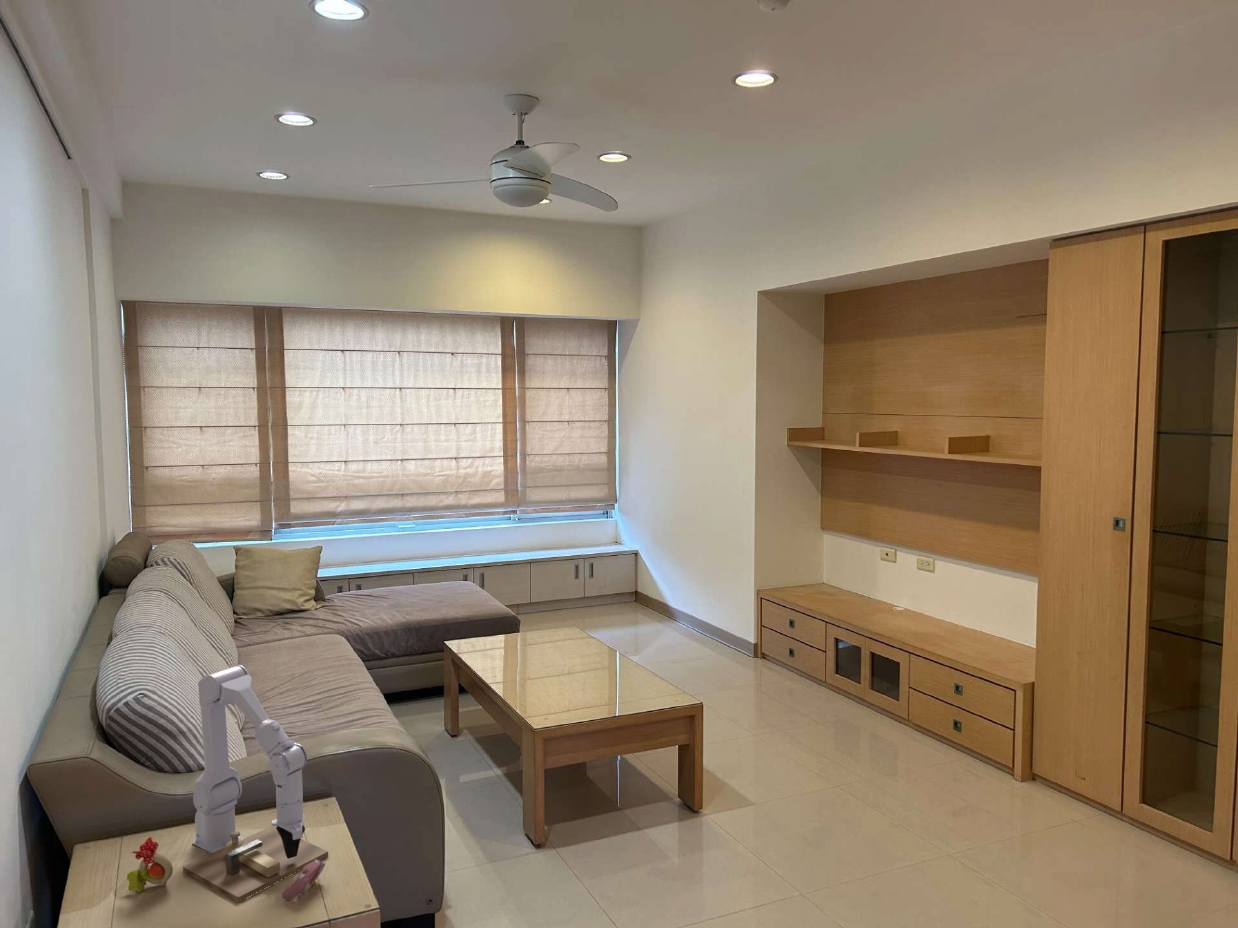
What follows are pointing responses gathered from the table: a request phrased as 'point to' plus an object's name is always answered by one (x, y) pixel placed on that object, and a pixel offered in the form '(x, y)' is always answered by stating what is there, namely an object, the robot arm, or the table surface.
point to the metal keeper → (234, 855)
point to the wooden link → (254, 857)
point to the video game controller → (304, 880)
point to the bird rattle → (156, 872)
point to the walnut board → (248, 879)
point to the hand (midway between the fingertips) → (291, 855)
